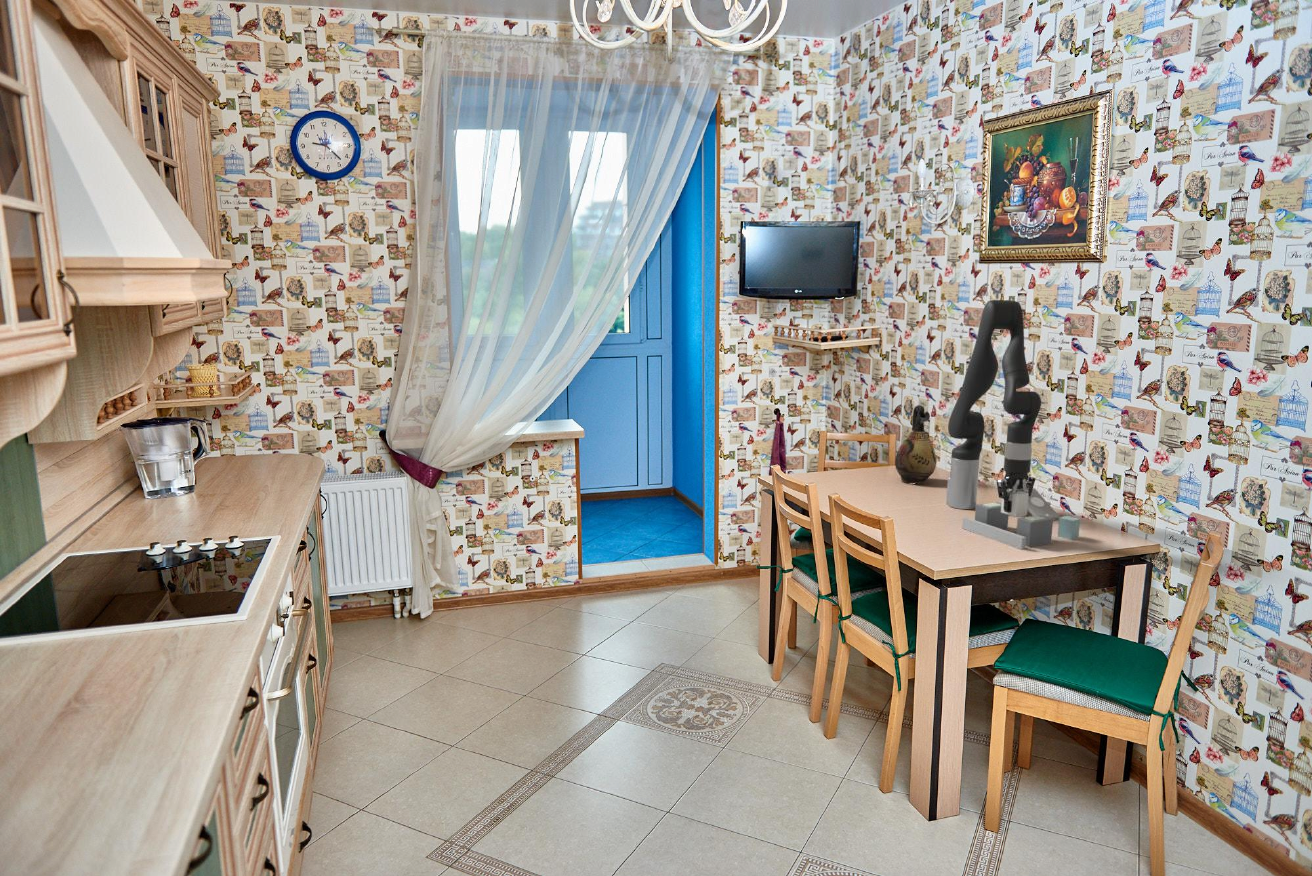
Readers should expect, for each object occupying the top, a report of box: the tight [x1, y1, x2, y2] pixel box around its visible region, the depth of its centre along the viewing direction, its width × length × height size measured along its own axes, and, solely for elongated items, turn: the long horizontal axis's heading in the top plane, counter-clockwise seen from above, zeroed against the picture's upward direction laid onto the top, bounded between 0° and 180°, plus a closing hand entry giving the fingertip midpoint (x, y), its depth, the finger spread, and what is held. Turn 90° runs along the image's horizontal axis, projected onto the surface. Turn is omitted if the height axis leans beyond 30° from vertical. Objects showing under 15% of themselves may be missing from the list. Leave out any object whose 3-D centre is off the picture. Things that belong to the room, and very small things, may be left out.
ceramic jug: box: [894, 404, 937, 485], centre depth 343 cm, size 17×15×30 cm
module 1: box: [1001, 489, 1029, 518], centre depth 270 cm, size 6×4×7 cm
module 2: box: [1057, 515, 1081, 541], centre depth 270 cm, size 4×4×6 cm
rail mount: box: [961, 502, 1054, 550], centre depth 271 cm, size 24×13×8 cm, turn 24°
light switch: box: [1027, 487, 1061, 520], centre depth 296 cm, size 8×6×14 cm
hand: (1013, 510), depth 271 cm, fingers closed on module 1, 4 cm apart
